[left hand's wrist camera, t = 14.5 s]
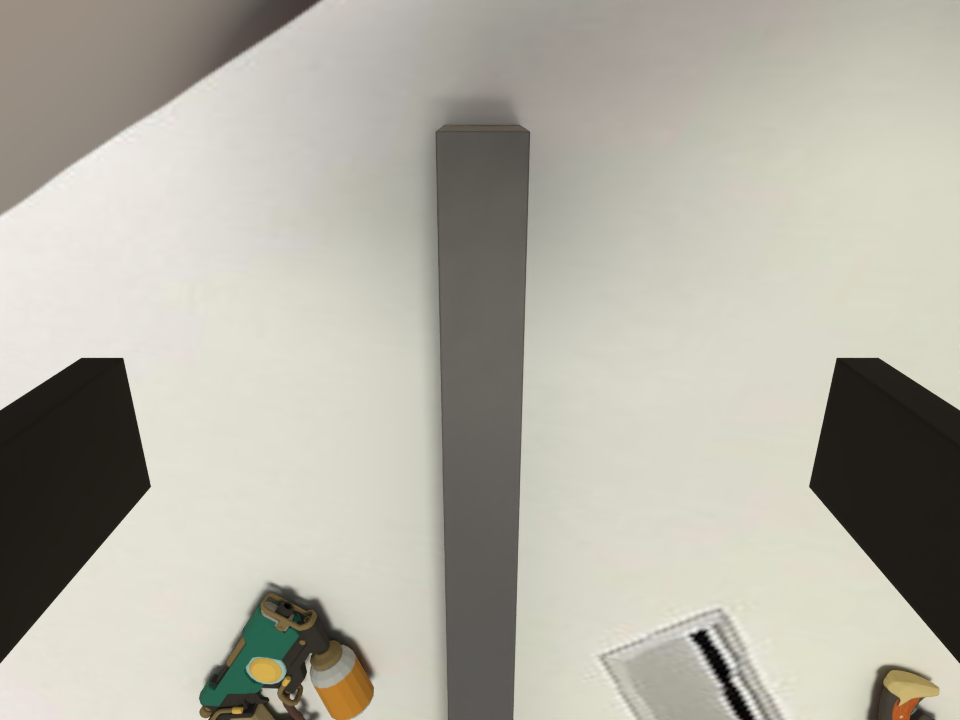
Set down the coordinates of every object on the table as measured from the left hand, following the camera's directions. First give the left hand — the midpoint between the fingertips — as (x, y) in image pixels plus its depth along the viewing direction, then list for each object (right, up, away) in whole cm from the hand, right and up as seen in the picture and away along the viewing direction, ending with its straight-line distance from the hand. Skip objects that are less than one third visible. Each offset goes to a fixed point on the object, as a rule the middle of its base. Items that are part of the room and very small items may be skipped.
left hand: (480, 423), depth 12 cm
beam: (0, -20, +45) cm, 49 cm away
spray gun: (-18, -27, +48) cm, 58 cm away
